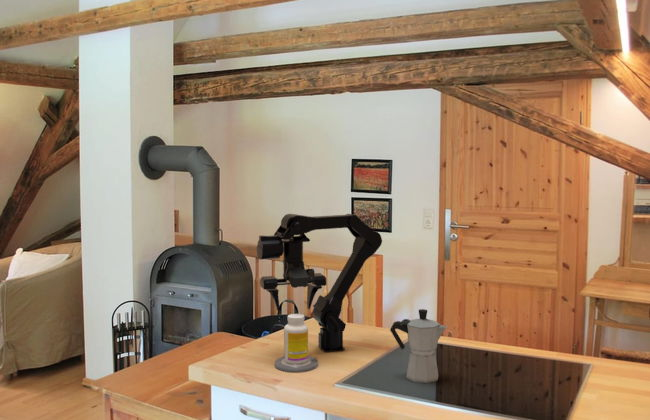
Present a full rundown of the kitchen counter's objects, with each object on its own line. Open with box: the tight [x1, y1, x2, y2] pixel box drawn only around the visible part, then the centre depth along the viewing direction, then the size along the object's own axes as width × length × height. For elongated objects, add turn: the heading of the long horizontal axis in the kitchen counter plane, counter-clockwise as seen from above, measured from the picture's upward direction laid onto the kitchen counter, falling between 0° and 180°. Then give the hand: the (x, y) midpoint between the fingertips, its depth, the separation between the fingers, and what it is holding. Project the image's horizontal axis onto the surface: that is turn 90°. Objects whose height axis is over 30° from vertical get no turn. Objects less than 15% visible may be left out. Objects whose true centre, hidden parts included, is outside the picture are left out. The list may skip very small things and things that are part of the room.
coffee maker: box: [389, 308, 448, 384], centre depth 162 cm, size 15×9×18 cm, turn 75°
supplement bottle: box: [283, 313, 309, 364], centre depth 172 cm, size 7×7×13 cm
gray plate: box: [274, 355, 319, 373], centre depth 172 cm, size 12×12×1 cm
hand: (293, 310), depth 181 cm, fingers open, 9 cm apart
